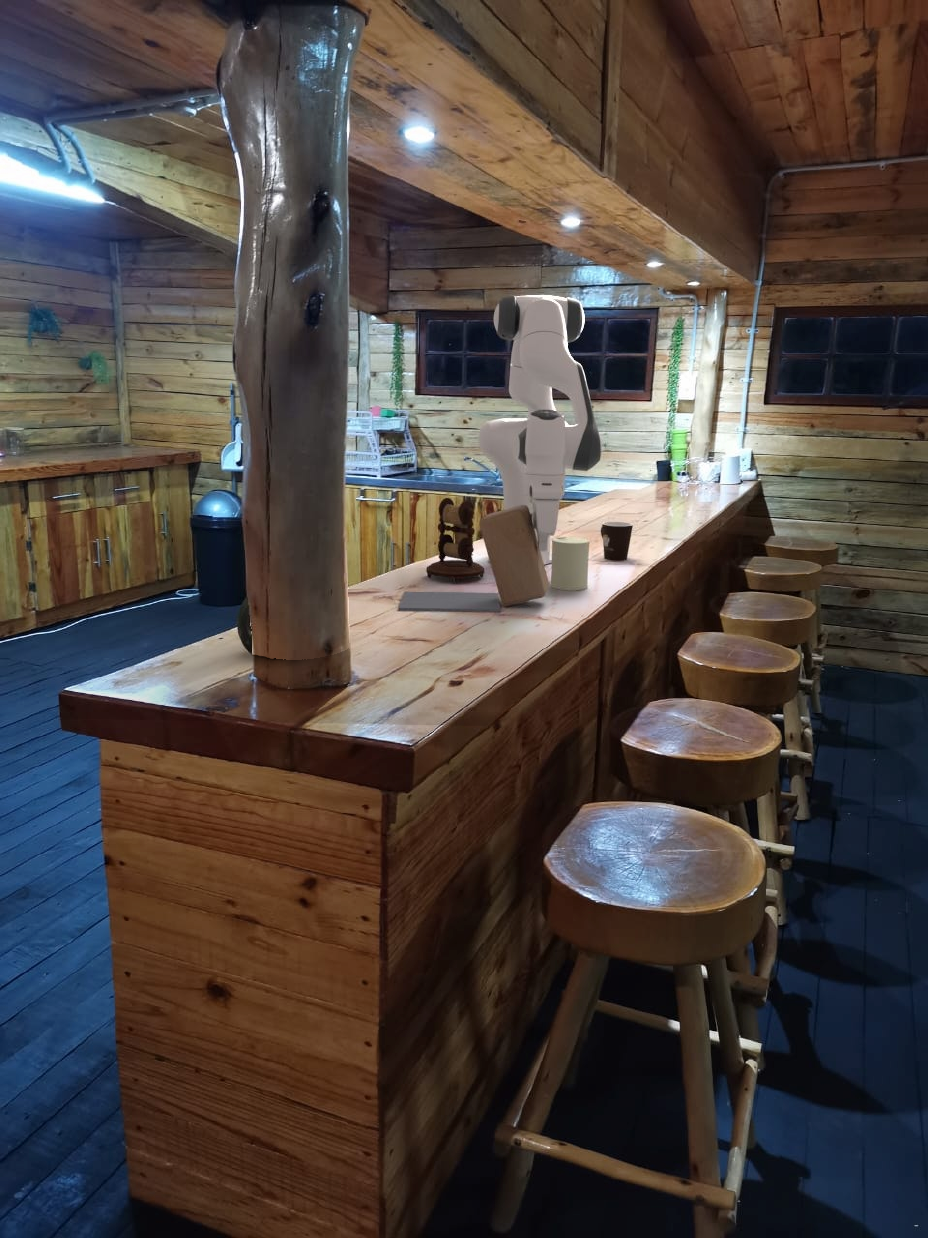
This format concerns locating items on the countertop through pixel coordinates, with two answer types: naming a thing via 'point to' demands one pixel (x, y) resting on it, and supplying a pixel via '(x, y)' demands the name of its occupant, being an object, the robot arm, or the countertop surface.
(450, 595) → the mat
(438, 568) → the wooden spool stand
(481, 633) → the countertop surface
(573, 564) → the can
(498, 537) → the block
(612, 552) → the coffee mug
